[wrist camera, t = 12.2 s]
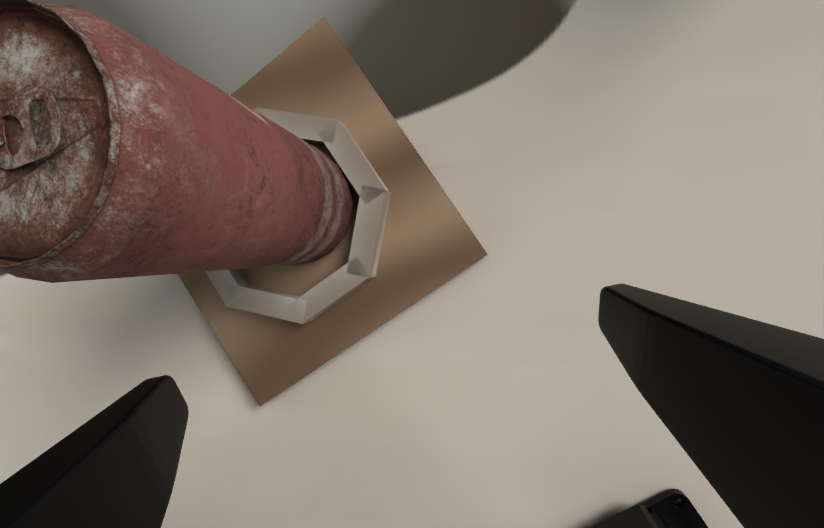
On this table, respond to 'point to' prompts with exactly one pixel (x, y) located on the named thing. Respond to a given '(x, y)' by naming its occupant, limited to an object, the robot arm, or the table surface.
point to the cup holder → (364, 240)
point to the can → (144, 162)
